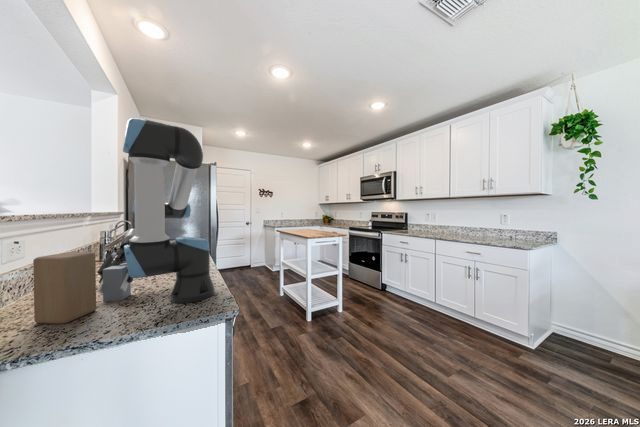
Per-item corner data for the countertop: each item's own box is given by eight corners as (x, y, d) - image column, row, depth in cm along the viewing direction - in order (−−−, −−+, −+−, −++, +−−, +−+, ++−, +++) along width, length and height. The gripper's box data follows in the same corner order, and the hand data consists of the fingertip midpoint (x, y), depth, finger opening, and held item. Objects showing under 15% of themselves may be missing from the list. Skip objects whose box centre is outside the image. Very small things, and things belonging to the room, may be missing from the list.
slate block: (130, 294, 94) (130, 264, 94) (122, 300, 88) (121, 268, 88) (112, 295, 92) (112, 265, 92) (103, 301, 86) (102, 269, 86)
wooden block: (69, 310, 79) (68, 251, 79) (97, 310, 79) (97, 251, 79) (32, 324, 69) (31, 257, 69) (64, 325, 69) (63, 257, 69)
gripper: (161, 245, 107) (145, 293, 92) (111, 247, 102) (85, 297, 87) (156, 235, 102) (138, 284, 86) (103, 236, 97) (73, 288, 82)
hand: (111, 290), depth 87 cm, fingers open, 6 cm apart
